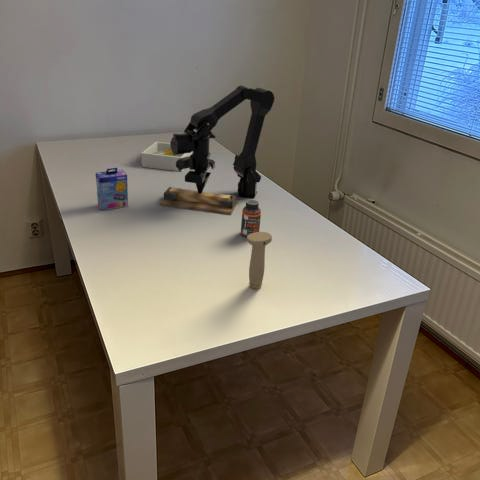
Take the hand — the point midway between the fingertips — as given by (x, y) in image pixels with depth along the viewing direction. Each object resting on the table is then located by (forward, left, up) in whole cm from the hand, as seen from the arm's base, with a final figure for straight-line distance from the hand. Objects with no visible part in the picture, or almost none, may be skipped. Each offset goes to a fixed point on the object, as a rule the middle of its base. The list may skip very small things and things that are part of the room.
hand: (200, 193), depth 176 cm
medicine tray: (+25, -39, -4) cm, 47 cm away
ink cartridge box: (+28, +12, -4) cm, 31 cm away
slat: (0, 0, -3) cm, 3 cm away
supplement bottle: (-22, +19, -4) cm, 29 cm away
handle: (-29, +49, -4) cm, 57 cm away
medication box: (+29, -41, -4) cm, 50 cm away
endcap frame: (0, 0, -4) cm, 4 cm away
